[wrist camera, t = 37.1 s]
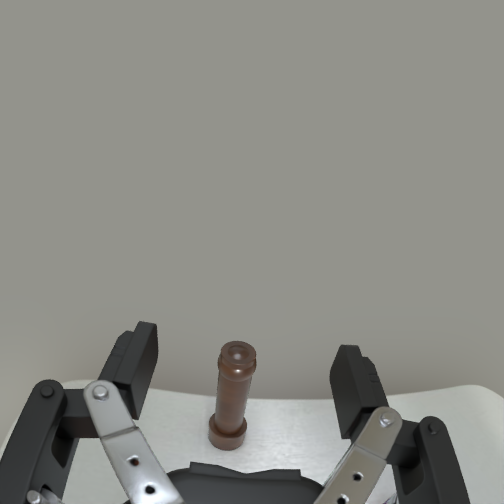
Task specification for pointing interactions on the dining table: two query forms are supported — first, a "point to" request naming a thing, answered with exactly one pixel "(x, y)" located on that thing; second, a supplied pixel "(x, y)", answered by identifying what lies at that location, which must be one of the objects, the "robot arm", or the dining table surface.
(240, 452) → the dining table surface
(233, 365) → the brown rolling pin handle
